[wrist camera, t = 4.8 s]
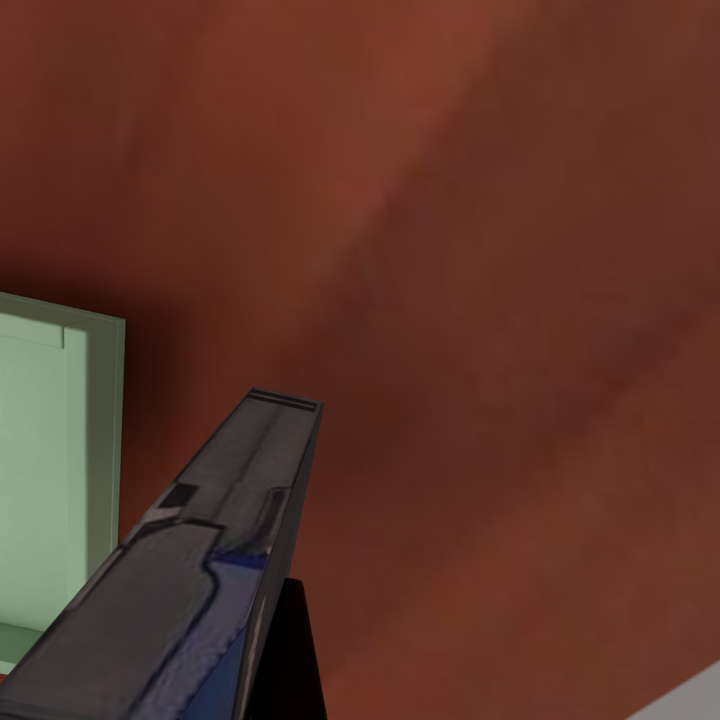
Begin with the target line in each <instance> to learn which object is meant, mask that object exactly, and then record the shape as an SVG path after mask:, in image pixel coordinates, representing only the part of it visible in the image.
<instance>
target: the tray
mask: <svg viewBox="0 0 720 720" xmlns="http://www.w3.org/2000/svg"><path fill="white" fill-rule="evenodd" d="M125 323H126V320H125V319H122V318H117V317H113V316H108V315H104V314H99V313H95V312H90V311H86V310H81V309H77V308H72V307H68V306H63V305H59V304H54V303H50V302H45V301H41V300H36V299H32V298H27V297H23V296H18V295H14V294H9V293H5V292H0V673H2V674H7V675H8V674H9V673H10V672H11V671H12V669H13V668H14V667H15V666H16V665H17V664H18V662H19V661H20V660H21V659H22V658H23V656H24V655H25V654H26V653H27V652H28V651H29V649H30V648H31V647H32V646H33V645H34V643H35V642H36V641H37V640H38V639H39V638H40V636H41V635H42V634H43V633H44V632H45V631H46V629H47V628H48V627H49V626H50V625H51V623H52V622H53V621H54V620H55V619H56V618H57V616H58V615H59V614H60V613H61V612H62V610H63V609H64V608H65V607H66V606H67V605H68V603H69V602H70V601H71V600H72V599H73V598H74V596H75V595H76V594H77V593H78V592H79V590H80V589H81V588H82V587H83V586H84V585H85V583H86V582H87V581H88V580H89V579H90V577H91V576H92V575H93V574H94V573H95V572H96V570H97V569H98V568H99V567H100V566H101V565H102V563H103V562H104V561H105V560H106V559H107V557H108V556H109V555H110V554H111V553H112V552H113V550H114V549H115V548H116V547H117V546H118V522H119V494H120V465H121V437H122V408H123V380H124V352H125Z"/></svg>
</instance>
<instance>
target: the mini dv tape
mask: <svg viewBox="0 0 720 720" xmlns="http://www.w3.org/2000/svg"><path fill="white" fill-rule="evenodd" d="M323 406H324V402H321V401H316V400H312V399H307V398H303V397H298V396H294V395H289V394H284V393H280V392H275V391H271V390H266V389H262V388H257V387H252V388H251V389H250V390H249V391H248V392H247V394H246V395H245V396H244V397H243V398H242V399H241V401H240V402H239V403H238V404H237V405H236V407H235V408H234V409H233V410H232V411H231V412H230V414H229V415H228V416H227V417H226V418H225V420H224V421H223V422H222V423H221V424H220V425H219V427H218V428H217V429H216V430H215V431H214V432H213V434H212V435H211V436H210V437H209V438H208V440H207V441H206V442H205V443H204V444H203V445H202V447H201V448H200V449H199V450H198V451H197V453H196V454H195V455H194V456H193V457H192V458H191V460H190V461H189V462H188V463H187V464H186V465H185V467H184V468H183V469H182V470H181V471H180V473H179V474H178V475H177V476H176V477H175V478H174V480H173V481H172V482H171V483H170V484H169V486H168V487H167V488H166V489H165V490H164V491H163V493H162V494H161V495H160V496H159V497H158V498H157V500H156V501H155V502H154V503H153V504H152V506H151V507H150V508H149V509H148V510H147V511H146V513H145V514H144V515H143V516H142V517H141V519H140V520H139V521H138V522H137V523H136V524H135V526H134V527H133V528H132V529H131V530H130V532H129V533H128V534H127V535H126V536H125V537H124V539H123V540H122V541H121V542H120V543H119V544H118V546H117V547H116V548H115V549H114V550H113V552H112V553H111V554H110V555H109V556H108V557H107V559H106V560H105V561H104V562H103V563H102V565H101V566H100V567H99V568H98V569H97V570H96V572H95V573H94V574H93V575H92V576H91V577H90V579H89V580H88V581H87V582H86V583H85V585H84V586H83V587H82V588H81V589H80V590H79V592H78V593H77V594H76V595H75V596H74V598H73V599H72V600H71V601H70V602H69V603H68V605H67V606H66V607H65V608H64V609H63V610H62V612H61V613H60V614H59V615H58V616H57V618H56V619H55V620H54V621H53V622H52V623H51V625H50V626H49V627H48V628H47V629H46V631H45V632H44V633H43V634H42V635H41V636H40V638H39V639H38V640H37V641H36V642H35V643H34V645H33V646H32V647H31V648H30V649H29V651H28V652H27V653H26V654H25V655H24V656H23V658H22V659H21V660H20V661H19V662H18V664H17V665H16V666H15V667H14V668H13V669H12V671H11V672H10V673H9V674H8V675H7V676H6V678H5V679H4V680H3V682H2V683H1V685H0V720H251V716H252V711H253V705H254V700H255V695H256V690H257V685H258V680H259V674H260V669H261V664H262V659H263V654H264V649H265V644H266V639H267V635H268V632H269V628H270V625H271V621H272V618H273V615H274V612H275V608H276V605H277V602H278V599H279V595H280V592H281V589H282V585H283V582H284V579H285V578H287V577H289V572H290V567H291V562H292V558H293V553H294V548H295V543H296V538H297V533H298V528H299V523H300V518H301V514H302V509H303V504H304V499H305V494H306V489H307V484H308V479H309V474H310V469H311V465H312V460H313V455H314V450H315V445H316V440H317V435H318V430H319V425H320V420H321V416H322V411H323Z"/></svg>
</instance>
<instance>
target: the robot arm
mask: <svg viewBox="0 0 720 720" xmlns="http://www.w3.org/2000/svg"><path fill="white" fill-rule="evenodd" d="M251 720H328V719H327V714H326V708H325V703H324V697H323V692H322V686H321V681H320V675H319V669H318V664H317V658H316V653H315V647H314V642H313V636H312V631H311V625H310V619H309V614H308V608H307V603H306V597H305V592H304V586H303V583H302V581H301V580H297V579H292V578H288V577H287V578H285V579H284V582H283V585H282V589H281V592H280V595H279V599H278V602H277V605H276V608H275V612H274V615H273V618H272V621H271V625H270V628H269V632H268V635H267V639H266V644H265V649H264V654H263V659H262V664H261V669H260V674H259V680H258V685H257V690H256V695H255V700H254V705H253V711H252V716H251Z"/></svg>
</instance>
